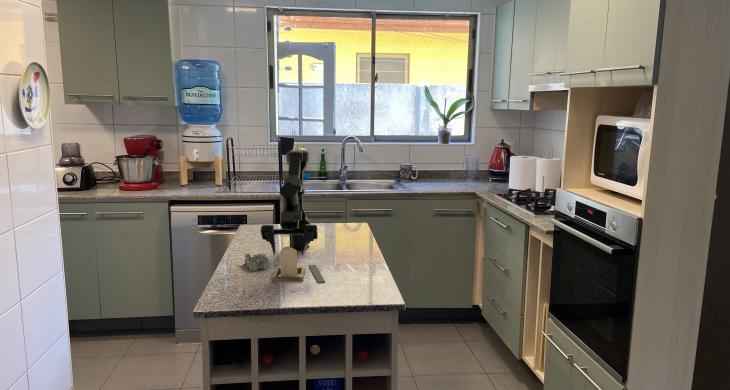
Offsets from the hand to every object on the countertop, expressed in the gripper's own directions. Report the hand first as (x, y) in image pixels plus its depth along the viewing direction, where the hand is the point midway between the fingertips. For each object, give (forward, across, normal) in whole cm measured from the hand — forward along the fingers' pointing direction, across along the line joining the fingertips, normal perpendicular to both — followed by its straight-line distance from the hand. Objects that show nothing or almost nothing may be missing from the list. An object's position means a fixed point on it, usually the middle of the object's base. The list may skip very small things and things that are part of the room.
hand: (288, 254), depth 169 cm
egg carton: (-4, -13, +16) cm, 21 cm away
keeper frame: (+5, 0, +7) cm, 8 cm away
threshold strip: (+3, +9, +8) cm, 13 cm away
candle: (+5, 0, +7) cm, 8 cm away
